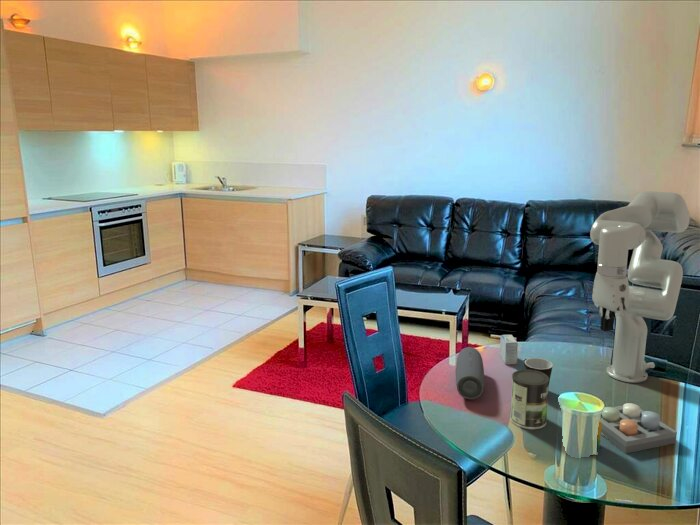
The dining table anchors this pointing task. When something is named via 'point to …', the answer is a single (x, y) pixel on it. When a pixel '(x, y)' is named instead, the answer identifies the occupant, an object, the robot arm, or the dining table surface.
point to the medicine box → (508, 349)
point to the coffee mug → (539, 365)
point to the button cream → (631, 410)
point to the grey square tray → (643, 437)
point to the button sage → (610, 414)
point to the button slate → (650, 420)
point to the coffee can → (529, 399)
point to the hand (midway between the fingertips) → (606, 329)
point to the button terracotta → (628, 427)
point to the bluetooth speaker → (469, 373)
